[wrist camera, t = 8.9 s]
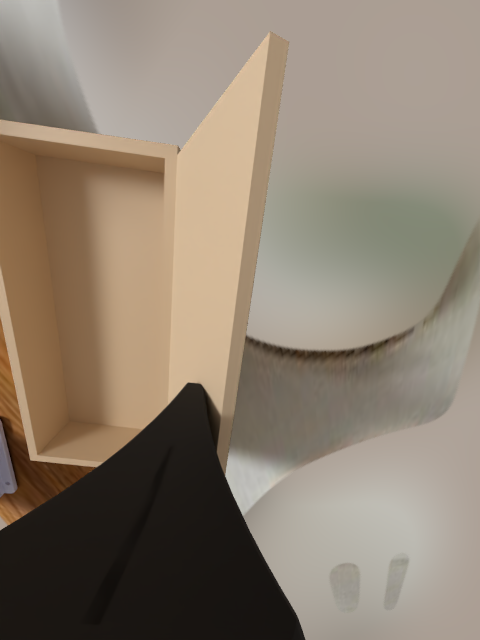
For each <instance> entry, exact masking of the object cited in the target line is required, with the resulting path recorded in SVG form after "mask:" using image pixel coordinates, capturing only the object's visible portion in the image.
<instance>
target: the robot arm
mask: <svg viewBox="0 0 480 640" xmlns="http://www.w3.org/2000/svg"><path fill="white" fill-rule="evenodd" d="M16 490H17V483H16V479H15V475H14V471H13V467H12V463H11V459H10V455H9V451H8V447H7V442H6V438H5V434H4V430H3V426H2V422H1V420H0V497H1V496H2V495H3V494H4V493H10V494H11V493H14V492H15V491H16ZM0 640H305V637H304V634H303V631H302V628H301V625H300V622H299V619H298V617H297V615H296V613H295V611H294V610H293V608H292V606H291V604H290V603H289V601H288V599H287V598H286V596H285V594H284V593H283V591H282V589H281V587H280V586H279V584H278V582H277V581H276V579H275V577H274V575H273V573H272V572H271V570H270V569H269V566H268V565H267V563H266V561H265V559H264V557H263V555H262V553H261V552H260V550H259V548H258V546H257V544H256V542H255V540H254V538H253V536H252V534H251V533H250V531H249V529H248V527H247V524H246V522H245V520H244V518H243V516H242V514H241V511H240V509H239V507H238V505H237V503H236V501H235V499H234V497H233V494H232V492H231V489H230V487H229V485H228V482H227V480H226V477H225V475H224V472H223V469H222V466H221V464H220V461H219V458H218V455H217V452H216V448H215V445H214V441H213V438H212V434H211V430H210V426H209V421H208V416H207V409H206V398H205V390H204V387H203V386H202V385H201V384H199V383H189V382H188V383H187V384H186V385H185V386H184V387H183V389H182V390H181V391H180V392H179V393H178V394H177V396H176V397H175V398H174V399H173V400H172V401H171V402H170V403H169V404H168V405H167V407H166V408H165V409H164V410H163V411H162V412H161V413H160V414H159V415H158V416H157V417H156V418H155V419H154V420H153V421H152V422H151V423H149V424H148V425H147V426H146V427H145V428H144V429H143V430H142V431H141V432H140V433H139V434H137V435H136V436H135V437H134V438H133V439H132V440H131V441H129V442H128V443H127V444H126V445H125V446H123V447H122V448H121V449H120V450H119V451H117V452H116V453H115V454H114V455H112V456H111V457H110V458H108V459H107V460H106V461H105V462H103V463H102V464H101V465H99V466H98V467H96V468H95V469H94V470H92V471H91V472H89V473H88V474H87V475H85V476H84V477H83V478H81V479H80V480H78V481H77V482H76V483H74V484H73V485H71V486H70V487H68V488H67V489H65V490H64V491H62V492H61V493H59V494H58V495H56V496H55V497H53V498H52V499H50V500H48V501H47V502H45V503H44V504H42V505H40V506H39V507H37V508H36V509H34V510H32V511H31V512H29V513H28V514H26V515H25V516H23V517H21V518H20V519H18V520H17V521H15V522H13V523H12V524H10V525H8V526H7V527H5V528H3V529H2V530H0Z"/></svg>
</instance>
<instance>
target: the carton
mask: <svg viewBox="0 0 480 640" xmlns="http://www.w3.org/2000/svg"><path fill="white" fill-rule="evenodd" d="M180 151H181V150H180V148H179V147H178V146H176V145H170V144H163V143H156V142H149V141H142V140H136V139H129V138H121V137H115V136H108V135H102V134H95V133H88V132H81V131H75V130H68V129H61V128H54V127H47V126H41V125H34V124H27V123H20V122H13V121H7V120H0V316H1V321H2V326H3V331H4V336H5V340H6V345H7V350H8V355H9V360H10V364H11V369H12V374H13V379H14V384H15V388H16V393H17V398H18V403H19V408H20V412H21V417H22V422H23V427H24V432H25V436H26V441H27V446H28V451H29V456H30V460H32V461H42V462H51V463H61V464H71V465H80V466H90V467H98V466H99V465H101V464H102V463H103V462H105V461H106V460H107V459H108V458H110V457H111V456H112V455H114V454H115V453H116V452H117V451H119V450H120V449H121V448H122V447H123V446H125V445H126V444H127V443H128V442H129V441H131V440H132V439H133V438H134V437H135V436H136V435H137V434H139V433H140V432H141V431H142V430H143V429H144V428H145V427H146V426H147V425H148V424H149V423H151V422H152V421H153V420H154V419H155V418H156V417H157V416H158V415H159V414H160V413H161V412H162V411H163V410H164V409H165V408H166V407H167V405H168V391H169V364H170V337H171V310H172V283H173V255H174V228H175V201H176V174H177V155H178V153H179V152H180Z"/></svg>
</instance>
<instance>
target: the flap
mask: <svg viewBox="0 0 480 640" xmlns="http://www.w3.org/2000/svg"><path fill="white" fill-rule="evenodd" d="M288 46H289V42H288V41H286V40H285V39H283V38H281V37H280V36H277V35H276V34H274V33H273V32H271V31H270V32H269V34H268V35H267V36H266V38H265V39H264V40H263V42H262V43H261V44H260V45H259V47H258V48H257V50H256V51H255V52H254V53H253V55H252V56H251V58H250V59H249V60H248V61H247V63H246V64H245V65H244V67H243V68H242V69H241V71H240V72H239V74H238V75H237V76H236V78H235V79H234V80H233V81H232V83H231V84H230V86H229V87H228V88H227V90H226V91H225V92H224V93H223V95H222V96H221V98H220V99H219V100H218V102H217V103H216V104H215V106H214V107H213V108H212V109H211V111H210V112H209V113H208V115H207V116H206V117H205V119H204V120H203V122H202V123H201V124H200V125H199V127H198V128H197V129H196V131H195V132H194V133H193V135H192V136H191V137H190V139H189V140H188V141H187V143H186V144H185V146H184V147H183V148H182V150H181V151H180V152H179V153H178V155H177V174H176V201H175V228H174V255H173V283H172V310H171V337H170V364H169V391H168V404H169V403H170V402H171V401H172V400H173V399H174V398H175V397H176V396H177V394H178V393H179V392H180V391H181V390H182V389H183V387H184V386H185V385H186V384H187V383H188V382H189V383H199V384H201V385H202V386H203V387H204V390H205V398H206V409H207V416H208V421H209V426H210V430H211V434H212V438H213V441H214V445H215V448H216V452H217V455H218V458H219V461H220V464H221V466H222V469H223V472H224V475H225V472H226V466H227V459H228V452H229V445H230V439H231V432H232V425H233V418H234V412H235V405H236V398H237V391H238V384H239V378H240V371H241V364H242V357H243V351H244V344H245V337H246V330H247V324H248V317H249V310H250V303H251V296H252V289H253V283H254V276H255V268H256V263H257V255H258V249H259V242H260V236H261V229H262V222H263V215H264V208H265V202H266V195H267V188H268V181H269V174H270V168H271V161H272V155H273V147H274V141H275V134H276V127H277V121H278V114H279V106H280V100H281V94H282V87H283V80H284V73H285V67H286V60H287V53H288Z"/></svg>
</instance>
